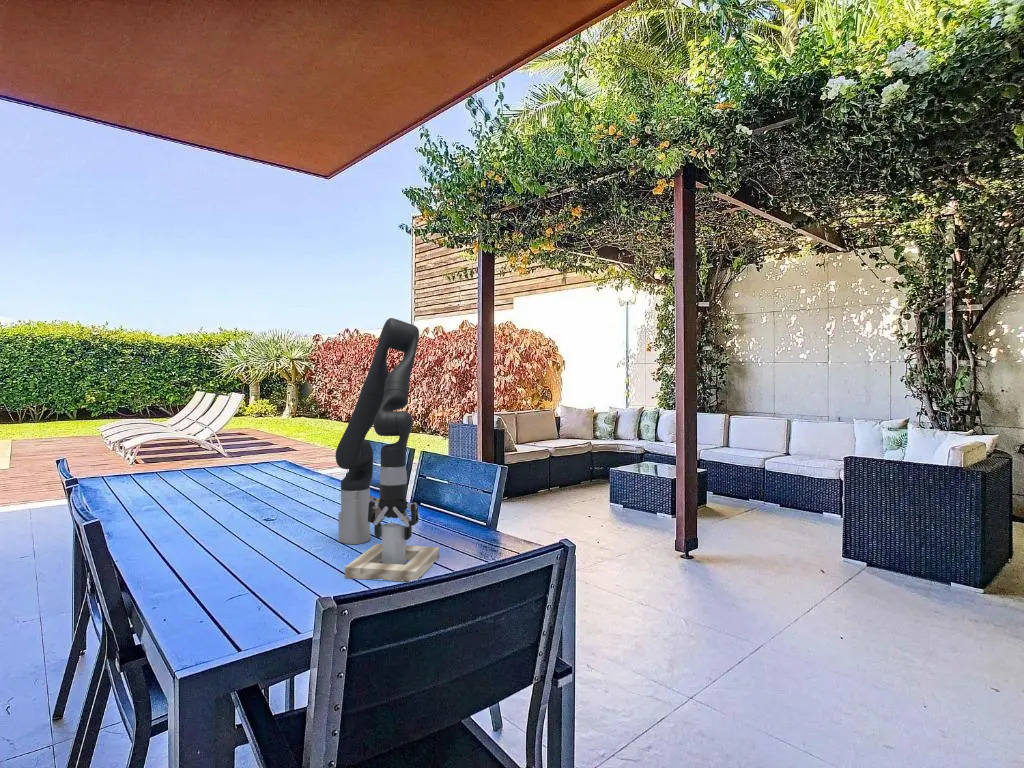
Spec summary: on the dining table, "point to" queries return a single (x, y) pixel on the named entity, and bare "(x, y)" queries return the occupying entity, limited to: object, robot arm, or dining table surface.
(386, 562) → the skincare box
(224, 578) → the dining table surface
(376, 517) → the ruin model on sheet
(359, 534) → the robot arm
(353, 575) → the socket block
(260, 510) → the dining table surface
